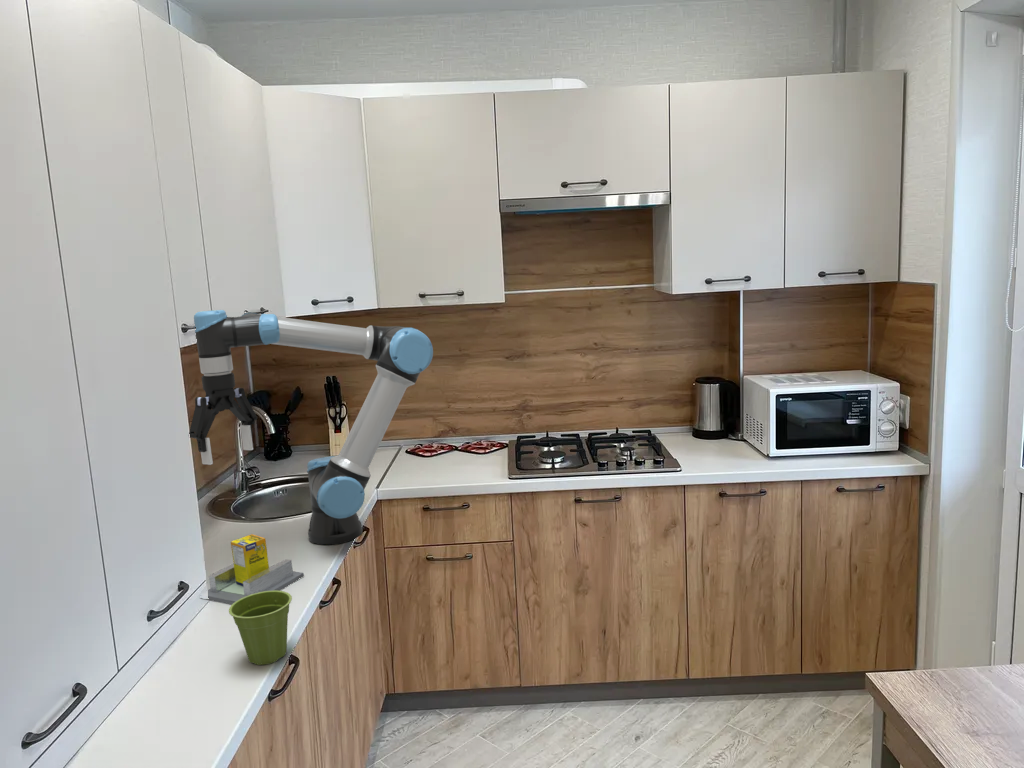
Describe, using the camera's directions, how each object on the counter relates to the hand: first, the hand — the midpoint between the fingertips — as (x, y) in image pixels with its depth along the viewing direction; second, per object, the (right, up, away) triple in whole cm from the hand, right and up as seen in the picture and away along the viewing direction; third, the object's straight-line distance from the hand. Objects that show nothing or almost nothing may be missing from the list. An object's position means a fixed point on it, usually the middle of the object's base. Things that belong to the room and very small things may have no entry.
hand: (228, 456), depth 186 cm
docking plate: (+8, -31, -6) cm, 33 cm away
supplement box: (+8, -30, -6) cm, 32 cm away
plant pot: (+23, -36, -39) cm, 58 cm away
